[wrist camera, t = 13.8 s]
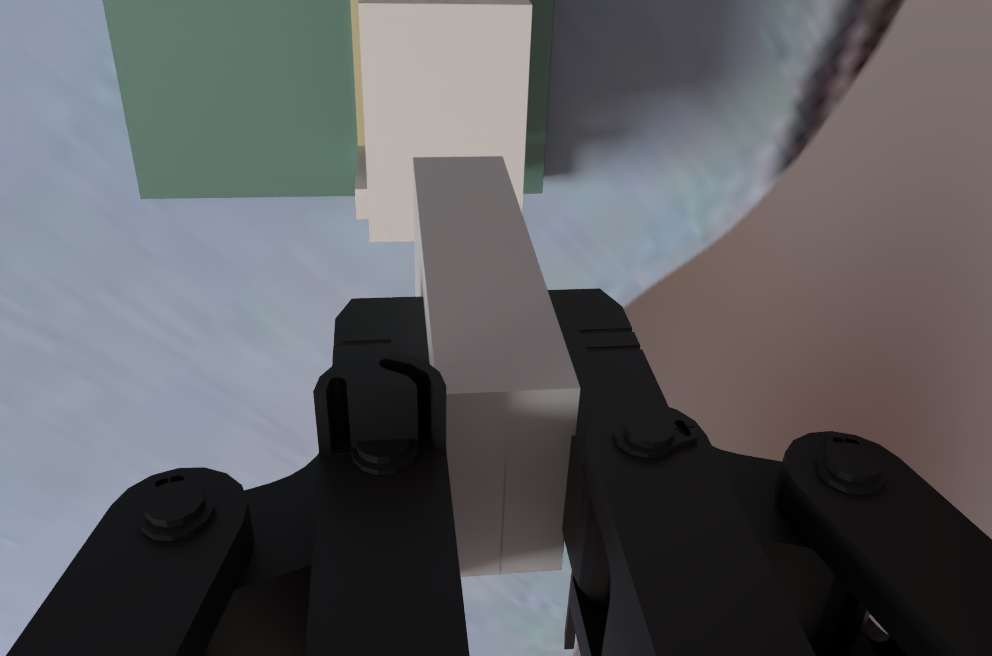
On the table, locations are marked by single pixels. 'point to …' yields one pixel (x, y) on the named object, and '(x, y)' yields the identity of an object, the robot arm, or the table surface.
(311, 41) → the header board
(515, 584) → the table surface
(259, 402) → the table surface
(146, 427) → the table surface
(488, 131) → the plug
